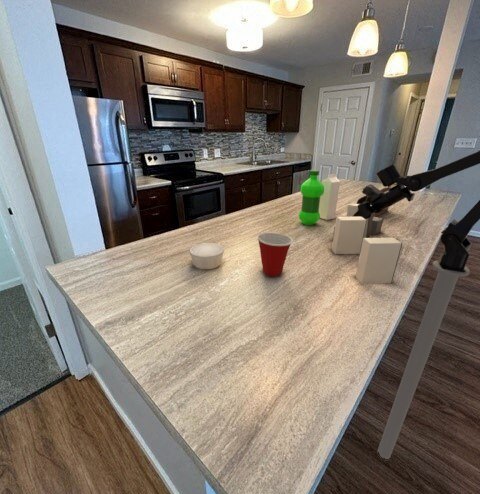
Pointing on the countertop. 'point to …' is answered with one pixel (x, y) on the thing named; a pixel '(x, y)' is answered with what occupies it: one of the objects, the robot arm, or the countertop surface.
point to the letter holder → (366, 198)
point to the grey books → (374, 225)
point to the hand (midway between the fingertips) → (356, 216)
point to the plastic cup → (273, 252)
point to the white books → (366, 250)
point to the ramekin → (207, 255)
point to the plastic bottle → (311, 199)
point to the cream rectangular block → (354, 208)
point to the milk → (329, 197)
